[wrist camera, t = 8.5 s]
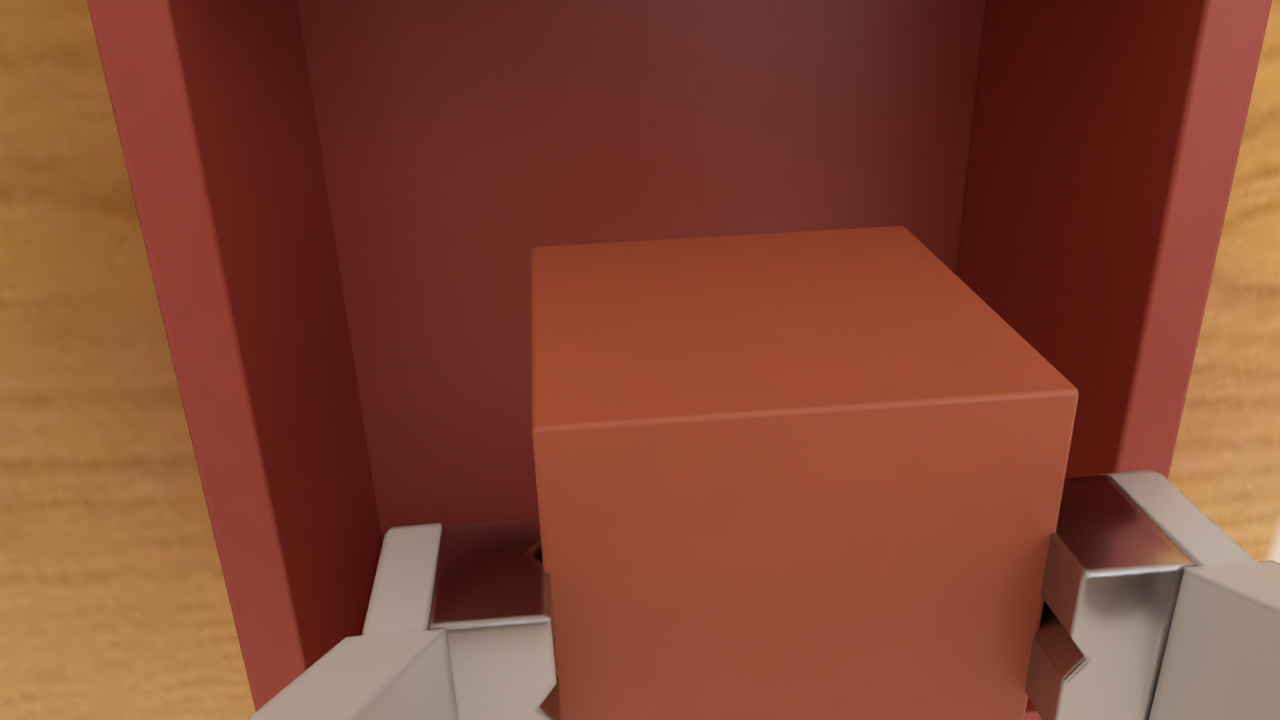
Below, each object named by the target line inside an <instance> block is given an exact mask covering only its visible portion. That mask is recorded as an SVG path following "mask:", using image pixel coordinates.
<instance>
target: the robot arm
mask: <svg viewBox="0 0 1280 720" xmlns="http://www.w3.org/2000/svg"><path fill="white" fill-rule="evenodd" d="M1040 595H1041V597H1042V598H1043V599H1044V605H1043V610H1042V616H1041V622H1040V628H1039V629H1038V631H1037V632H1036V634H1035V635H1034V636H1033V643H1032V649H1031V655H1030V661H1029V668H1028V674H1027V680H1026V687H1025V692H1026V694H1027V696H1028V697H1029V699H1030V700H1031V702H1032V704H1033V705H1034V707H1035V709H1036V710H1037V712H1038V713H1039V715H1040V717H1041V718H1042V720H1280V564H1279V563H1277V562H1274V561H1260V562H1256V561H1255V560H1254V559H1252V558H1251V557H1250V556H1249V555H1248V554H1247V553H1246V552H1245V551H1244V550H1243V549H1242V548H1241V547H1240V546H1239V545H1237V544H1236V543H1235V542H1234V541H1233V540H1232V539H1231V538H1230V537H1229V536H1228V535H1227V534H1226V533H1225V532H1223V531H1222V530H1221V529H1220V528H1219V527H1218V526H1217V525H1216V524H1215V523H1214V522H1213V521H1212V520H1211V519H1210V518H1208V517H1207V516H1206V515H1205V514H1204V513H1203V512H1202V511H1201V510H1200V509H1199V508H1198V507H1197V506H1196V505H1195V504H1193V503H1192V502H1191V501H1190V500H1189V499H1188V498H1187V497H1186V496H1185V495H1184V494H1183V493H1182V492H1181V491H1180V490H1178V489H1177V488H1176V487H1175V486H1174V485H1173V484H1172V483H1171V482H1170V481H1169V480H1168V479H1167V478H1166V477H1164V476H1163V475H1162V474H1160V473H1157V472H1155V471H1152V470H1149V469H1145V470H1137V471H1128V472H1119V473H1110V474H1101V475H1097V476H1087V477H1076V478H1066V479H1065V480H1064V486H1063V492H1062V498H1061V504H1060V509H1059V515H1058V521H1057V527H1056V532H1054V533H1051V537H1050V543H1049V549H1048V554H1047V560H1046V566H1045V571H1044V577H1043V583H1042V588H1041V594H1040ZM247 720H561V705H560V690H559V677H558V676H557V675H556V642H555V626H554V614H553V603H552V591H551V580H550V573H545V572H544V570H543V559H542V547H541V535H540V523H539V518H527V519H509V520H491V521H473V522H455V523H445V525H443V524H441V523H433V524H421V525H409V526H398V527H391V528H390V529H389V530H388V532H387V533H386V534H385V537H384V541H383V545H382V550H381V554H380V558H379V563H378V567H377V571H376V576H375V580H374V585H373V589H372V593H371V598H370V602H369V606H368V611H367V615H366V620H365V624H364V628H363V633H362V636H352V637H346V638H344V639H343V640H342V641H341V642H339V643H338V644H337V645H336V646H335V647H333V648H332V649H331V650H330V651H329V652H327V653H326V654H325V655H324V656H323V657H321V658H320V659H319V660H318V661H317V662H315V663H314V664H313V665H312V666H311V667H309V668H308V669H307V670H306V671H305V672H303V673H302V674H301V675H300V676H298V677H297V678H296V679H295V680H294V681H292V682H291V683H290V684H289V685H288V686H286V687H285V688H284V689H283V690H282V691H280V692H279V693H278V694H277V695H276V696H274V697H273V698H272V699H271V700H270V701H268V702H267V703H266V704H265V705H264V706H262V707H261V708H260V709H259V710H258V711H256V712H255V713H254V714H253V715H252V716H250V717H249V718H248V719H247Z"/></svg>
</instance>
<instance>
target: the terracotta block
mask: <svg viewBox="0 0 1280 720" xmlns="http://www.w3.org/2000/svg"><path fill="white" fill-rule="evenodd" d="M1078 397H1079V393H1078V390H1077V388H1076V387H1075V386H1073V385H1072V384H1071V383H1070V382H1069V381H1068V380H1067V379H1066V378H1065V377H1064V376H1063V375H1062V374H1061V373H1060V372H1059V371H1057V370H1056V369H1055V368H1054V367H1053V366H1052V365H1051V364H1050V363H1049V362H1048V361H1047V360H1046V359H1045V358H1044V357H1043V356H1042V355H1040V354H1039V353H1038V352H1037V351H1036V350H1035V349H1034V348H1033V347H1032V346H1031V345H1030V344H1029V343H1028V342H1027V341H1026V340H1024V339H1023V338H1022V337H1021V336H1020V335H1019V334H1018V333H1017V332H1016V331H1015V330H1014V329H1013V328H1012V327H1011V326H1010V325H1008V324H1007V323H1006V322H1005V321H1004V320H1003V319H1002V318H1001V317H1000V316H999V315H998V314H997V313H996V312H995V311H994V310H993V309H991V308H990V307H989V306H988V305H987V304H986V303H985V302H984V301H983V300H982V299H981V298H980V297H979V296H978V295H977V294H975V293H974V292H973V291H972V290H971V289H970V288H969V287H968V286H967V285H966V284H965V283H964V282H963V281H962V280H961V279H959V278H958V277H957V276H956V275H955V274H954V273H953V272H952V271H951V270H950V269H949V268H948V267H947V266H946V265H945V264H943V263H942V262H941V261H940V260H939V259H938V258H937V257H936V256H935V255H934V254H933V253H932V252H931V251H930V250H929V249H928V248H926V247H925V246H924V245H923V244H922V243H921V242H920V241H919V240H918V239H917V238H916V237H915V236H914V235H913V234H912V233H910V232H909V231H908V230H907V229H906V228H905V227H903V226H892V227H874V228H857V229H839V230H822V231H804V232H787V233H770V234H752V235H735V236H717V237H700V238H682V239H665V240H647V241H630V242H612V243H595V244H577V245H560V246H542V247H534V248H532V437H533V450H534V462H535V474H536V486H537V498H538V511H539V523H540V535H541V547H542V559H543V570H544V572H545V573H550V580H551V591H552V603H553V614H554V626H555V642H556V675H557V676H558V677H559V690H560V705H561V720H1024V717H1025V712H1026V706H1027V700H1028V696H1027V694H1026V692H1025V687H1026V680H1027V674H1028V668H1029V661H1030V655H1031V649H1032V643H1033V636H1034V635H1035V634H1036V632H1037V631H1038V629H1039V628H1040V622H1041V616H1042V610H1043V605H1044V599H1043V598H1042V597H1041V595H1040V594H1041V588H1042V583H1043V577H1044V571H1045V566H1046V560H1047V554H1048V549H1049V543H1050V537H1051V533H1054V532H1056V527H1057V521H1058V515H1059V509H1060V504H1061V498H1062V492H1063V486H1064V480H1065V474H1066V468H1067V462H1068V456H1069V450H1070V444H1071V438H1072V432H1073V426H1074V420H1075V414H1076V408H1077V403H1078Z"/></svg>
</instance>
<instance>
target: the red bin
mask: <svg viewBox="0 0 1280 720" xmlns="http://www.w3.org/2000/svg"><path fill="white" fill-rule="evenodd" d="M87 2H88V7H89V11H90V15H91V19H92V23H93V28H94V32H95V36H96V40H97V44H98V49H99V53H100V57H101V61H102V65H103V70H104V74H105V78H106V82H107V87H108V91H109V95H110V99H111V103H112V108H113V112H114V116H115V120H116V124H117V129H118V133H119V137H120V141H121V145H122V150H123V154H124V158H125V162H126V167H127V171H128V175H129V179H130V183H131V188H132V192H133V196H134V200H135V204H136V209H137V213H138V217H139V221H140V225H141V230H142V234H143V238H144V242H145V247H146V251H147V255H148V259H149V263H150V268H151V272H152V276H153V280H154V284H155V289H156V293H157V297H158V301H159V305H160V310H161V314H162V318H163V322H164V327H165V331H166V335H167V339H168V343H169V348H170V352H171V356H172V360H173V364H174V369H175V373H176V377H177V381H178V385H179V390H180V394H181V398H182V402H183V407H184V411H185V415H186V419H187V423H188V428H189V432H190V436H191V440H192V444H193V449H194V453H195V457H196V461H197V465H198V470H199V474H200V478H201V482H202V486H203V491H204V495H205V499H206V503H207V508H208V512H209V516H210V520H211V524H212V529H213V533H214V537H215V541H216V545H217V550H218V554H219V558H220V562H221V566H222V571H223V575H224V579H225V583H226V588H227V592H228V596H229V600H230V604H231V609H232V613H233V617H234V621H235V625H236V630H237V634H238V638H239V642H240V646H241V651H242V655H243V659H244V663H245V668H246V672H247V676H248V680H249V684H250V689H251V693H252V697H253V701H254V705H255V710H256V711H258V710H259V709H260V708H261V707H262V706H264V705H265V704H266V703H267V702H268V701H270V700H271V699H272V698H273V697H274V696H276V695H277V694H278V693H279V692H280V691H282V690H283V689H284V688H285V687H286V686H288V685H289V684H290V683H291V682H292V681H294V680H295V679H296V678H297V677H298V676H300V675H301V674H302V673H303V672H305V671H306V670H307V669H308V668H309V667H311V666H312V665H313V664H314V663H315V662H317V661H318V660H319V659H320V658H321V657H323V656H324V655H325V654H326V653H327V652H329V651H330V650H331V649H332V648H333V647H335V646H336V645H337V644H338V643H339V642H341V641H342V640H343V639H344V638H346V637H352V636H362V633H363V628H364V624H365V620H366V615H367V611H368V606H369V602H370V598H371V593H372V589H373V585H374V580H375V576H376V571H377V567H378V563H379V558H380V554H381V550H382V545H383V541H384V537H385V534H386V533H387V532H388V530H389V529H390V528H391V527H398V526H409V525H421V524H433V523H441V524H443V525H445V523H455V522H473V521H491V520H509V519H527V518H539V511H538V498H537V486H536V474H535V462H534V450H533V437H532V248H534V247H542V246H560V245H577V244H595V243H612V242H630V241H647V240H665V239H682V238H700V237H717V236H735V235H752V234H770V233H787V232H804V231H822V230H839V229H857V228H874V227H892V226H903V227H905V228H906V229H907V230H908V231H909V232H910V233H912V234H913V235H914V236H915V237H916V238H917V239H918V240H919V241H920V242H921V243H922V244H923V245H924V246H925V247H926V248H928V249H929V250H930V251H931V252H932V253H933V254H934V255H935V256H936V257H937V258H938V259H939V260H940V261H941V262H942V263H943V264H945V265H946V266H947V267H948V268H949V269H950V270H951V271H952V272H953V273H954V274H955V275H956V276H957V277H958V278H959V279H961V280H962V281H963V282H964V283H965V284H966V285H967V286H968V287H969V288H970V289H971V290H972V291H973V292H974V293H975V294H977V295H978V296H979V297H980V298H981V299H982V300H983V301H984V302H985V303H986V304H987V305H988V306H989V307H990V308H991V309H993V310H994V311H995V312H996V313H997V314H998V315H999V316H1000V317H1001V318H1002V319H1003V320H1004V321H1005V322H1006V323H1007V324H1008V325H1010V326H1011V327H1012V328H1013V329H1014V330H1015V331H1016V332H1017V333H1018V334H1019V335H1020V336H1021V337H1022V338H1023V339H1024V340H1026V341H1027V342H1028V343H1029V344H1030V345H1031V346H1032V347H1033V348H1034V349H1035V350H1036V351H1037V352H1038V353H1039V354H1040V355H1042V356H1043V357H1044V358H1045V359H1046V360H1047V361H1048V362H1049V363H1050V364H1051V365H1052V366H1053V367H1054V368H1055V369H1056V370H1057V371H1059V372H1060V373H1061V374H1062V375H1063V376H1064V377H1065V378H1066V379H1067V380H1068V381H1069V382H1070V383H1071V384H1072V385H1073V386H1075V387H1076V388H1077V390H1078V393H1079V397H1078V403H1077V408H1076V414H1075V420H1074V426H1073V432H1072V438H1071V444H1070V450H1069V456H1068V462H1067V468H1066V474H1065V479H1066V478H1076V477H1087V476H1097V475H1101V474H1110V473H1119V472H1128V471H1137V470H1145V469H1149V470H1152V471H1155V472H1157V473H1160V474H1162V475H1163V476H1164V477H1166V478H1167V479H1168V476H1169V471H1170V467H1171V462H1172V458H1173V453H1174V448H1175V444H1176V439H1177V435H1178V430H1179V425H1180V421H1181V416H1182V412H1183V407H1184V402H1185V398H1186V393H1187V389H1188V384H1189V379H1190V375H1191V370H1192V366H1193V361H1194V356H1195V352H1196V347H1197V343H1198V338H1199V333H1200V329H1201V324H1202V320H1203V315H1204V311H1205V306H1206V301H1207V297H1208V292H1209V288H1210V283H1211V278H1212V274H1213V269H1214V265H1215V260H1216V255H1217V251H1218V246H1219V242H1220V237H1221V232H1222V228H1223V223H1224V219H1225V214H1226V209H1227V205H1228V200H1229V196H1230V191H1231V186H1232V182H1233V177H1234V173H1235V168H1236V163H1237V159H1238V154H1239V150H1240V145H1241V140H1242V136H1243V131H1244V127H1245V122H1246V117H1247V113H1248V108H1249V104H1250V99H1251V95H1252V90H1253V85H1254V81H1255V76H1256V72H1257V67H1258V62H1259V58H1260V53H1261V49H1262V44H1263V39H1264V35H1265V30H1266V26H1267V21H1268V16H1269V12H1270V7H1271V3H1272V0H87ZM1024 720H1042V718H1041V717H1040V715H1039V713H1038V712H1037V710H1036V709H1035V707H1034V705H1033V704H1032V702H1031V700H1030V699H1029V697H1028V700H1027V706H1026V712H1025V717H1024Z"/></svg>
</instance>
